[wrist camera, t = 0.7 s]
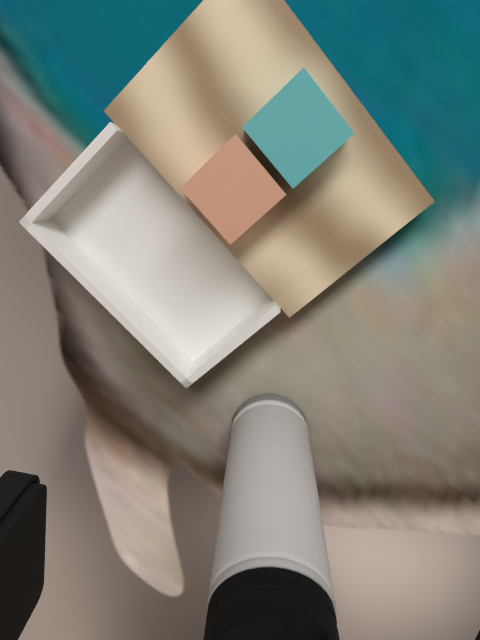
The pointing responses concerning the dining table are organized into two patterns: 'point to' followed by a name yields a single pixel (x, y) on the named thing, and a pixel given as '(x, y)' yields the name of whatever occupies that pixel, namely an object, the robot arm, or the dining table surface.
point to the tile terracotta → (233, 189)
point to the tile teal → (298, 128)
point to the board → (228, 119)
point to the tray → (149, 258)
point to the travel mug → (270, 533)
